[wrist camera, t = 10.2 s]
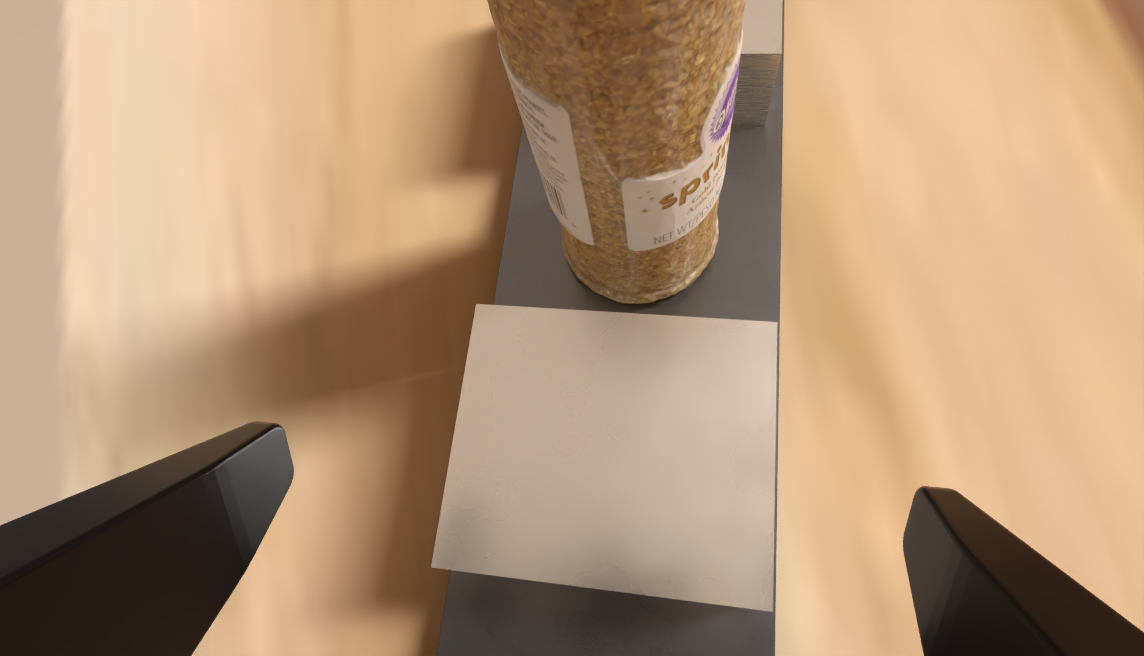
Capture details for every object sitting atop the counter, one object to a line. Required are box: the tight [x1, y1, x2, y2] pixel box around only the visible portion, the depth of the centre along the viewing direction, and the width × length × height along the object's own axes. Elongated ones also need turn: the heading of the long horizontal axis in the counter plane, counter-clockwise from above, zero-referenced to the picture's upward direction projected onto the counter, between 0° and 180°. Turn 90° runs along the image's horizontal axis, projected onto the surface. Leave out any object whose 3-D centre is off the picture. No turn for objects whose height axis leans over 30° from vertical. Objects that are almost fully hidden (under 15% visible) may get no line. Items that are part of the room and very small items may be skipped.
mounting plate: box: [431, 0, 784, 656], centre depth 18 cm, size 26×8×4 cm, turn 173°
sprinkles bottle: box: [487, 0, 746, 304], centre depth 13 cm, size 5×5×13 cm
